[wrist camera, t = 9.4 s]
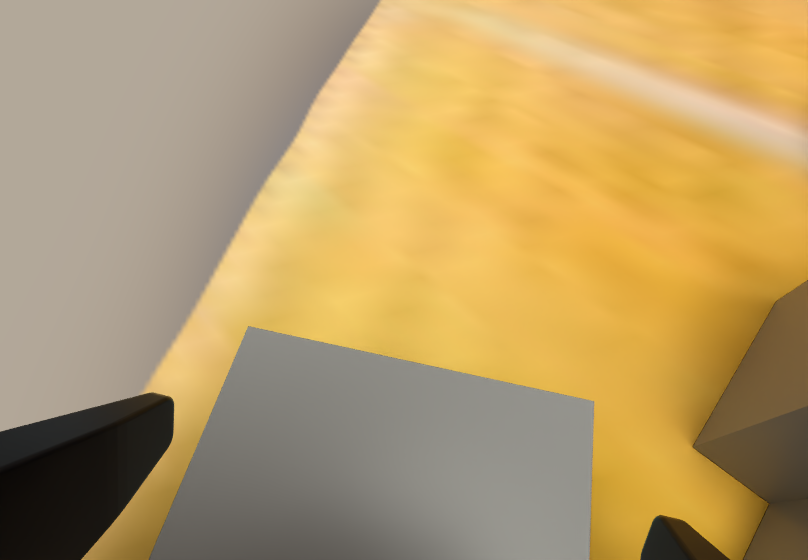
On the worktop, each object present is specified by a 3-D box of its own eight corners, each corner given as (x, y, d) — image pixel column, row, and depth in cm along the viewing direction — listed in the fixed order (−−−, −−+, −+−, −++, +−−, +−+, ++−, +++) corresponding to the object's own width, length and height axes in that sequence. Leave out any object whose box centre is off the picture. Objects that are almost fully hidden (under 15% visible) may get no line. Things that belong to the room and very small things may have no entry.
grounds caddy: (455, 675, 14) (577, 973, 4) (290, 627, 14) (50, 790, 5) (481, 490, 16) (593, 401, 6) (338, 455, 17) (248, 326, 7)
